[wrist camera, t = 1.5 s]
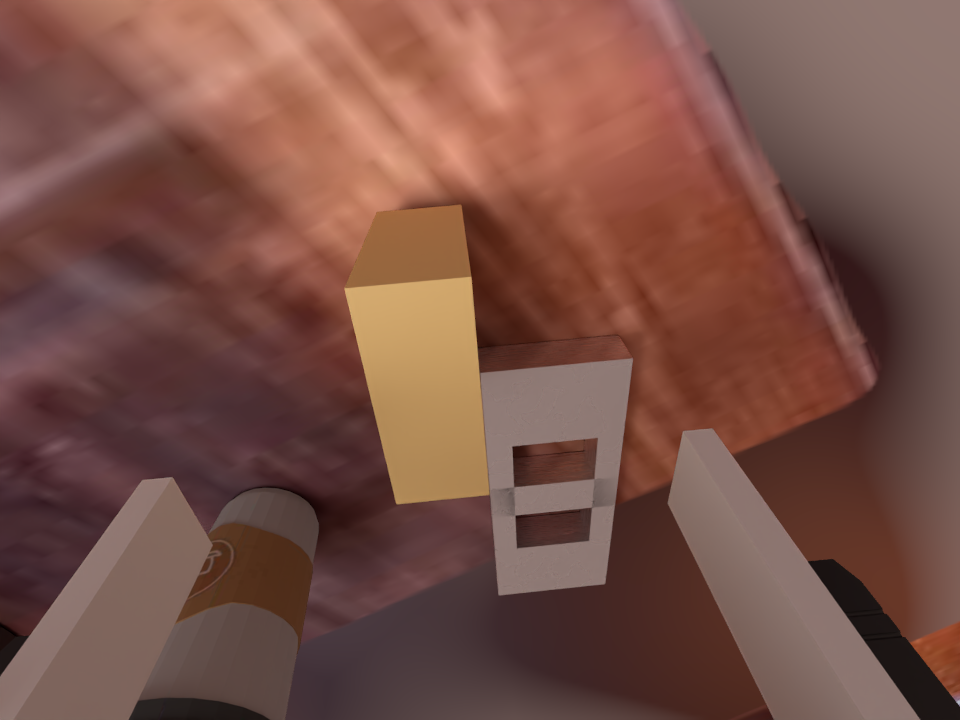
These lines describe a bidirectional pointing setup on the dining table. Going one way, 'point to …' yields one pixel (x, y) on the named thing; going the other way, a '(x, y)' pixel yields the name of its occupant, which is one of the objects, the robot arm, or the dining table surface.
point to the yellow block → (421, 352)
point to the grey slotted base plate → (553, 457)
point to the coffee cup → (239, 616)
